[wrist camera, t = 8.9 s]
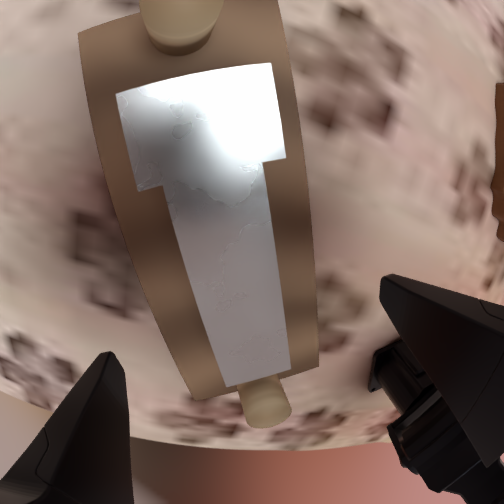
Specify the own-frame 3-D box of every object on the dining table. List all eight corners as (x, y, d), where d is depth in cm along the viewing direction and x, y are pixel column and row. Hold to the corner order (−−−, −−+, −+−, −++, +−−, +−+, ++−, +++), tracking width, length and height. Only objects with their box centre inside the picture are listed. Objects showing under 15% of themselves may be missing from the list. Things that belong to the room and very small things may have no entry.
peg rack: (312, 354, 23) (339, 403, 19) (193, 387, 22) (201, 443, 17) (268, 3, 12) (305, -37, 7) (86, 39, 11) (48, 9, 6)
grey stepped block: (290, 333, 20) (306, 363, 17) (204, 357, 19) (210, 391, 16) (253, 73, 13) (270, 62, 10) (128, 99, 12) (115, 93, 9)
